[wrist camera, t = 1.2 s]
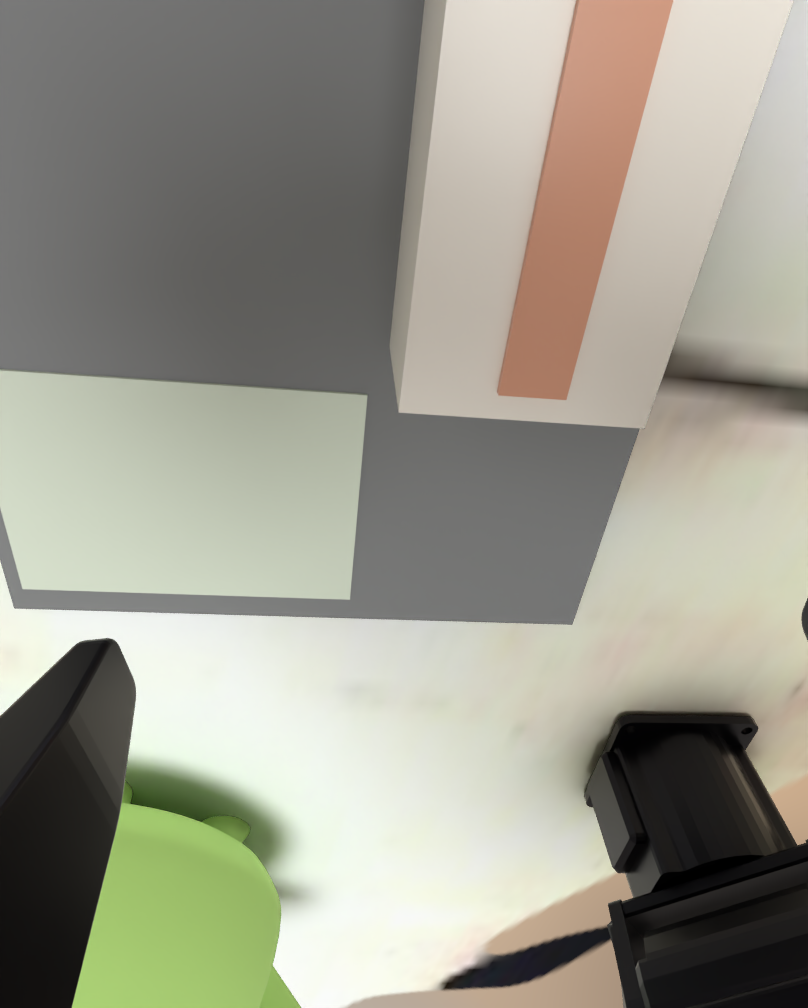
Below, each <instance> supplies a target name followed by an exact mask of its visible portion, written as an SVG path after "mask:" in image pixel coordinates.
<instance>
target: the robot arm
mask: <svg viewBox="0 0 808 1008" xmlns="http://www.w3.org/2000/svg"><path fill="white" fill-rule="evenodd" d="M802 627H803V630H804V633H805V635H806V638H807V640H808V598H807V601H806V603H805V606H804V609H803V612H802ZM135 701H136V687H135V682H134V679H133V676H132V674H131V672H130V670H129V667H128V665H127V663H126V661H125V658H124V656H123V654H122V652H121V649H120V647H119V645H118V644H117V642H116V641H115V640H113V639H109V638H105V639H95V640H85V641H81V642H79V643H77V644H76V645H75V646H73V647H72V648H71V649H70V650H69V651H68V652H67V653H66V654H65V655H64V656H63V657H62V658H61V659H60V660H59V661H58V662H57V663H56V664H54V665H53V666H52V667H51V668H50V669H49V670H48V671H47V672H46V673H45V674H44V675H43V676H42V677H41V678H40V679H39V680H38V681H37V682H36V683H34V684H33V685H32V686H31V687H30V688H29V689H28V690H27V691H26V692H25V693H24V694H23V695H22V696H21V697H20V698H19V699H18V700H17V701H16V702H15V703H13V704H12V705H11V706H10V707H9V708H8V709H7V710H6V711H5V712H4V713H3V714H2V715H1V716H0V1008H72V1005H73V1001H74V997H75V993H76V989H77V985H78V981H79V977H80V973H81V969H82V965H83V961H84V957H85V953H86V949H87V945H88V941H89V937H90V933H91V929H92V925H93V921H94V917H95V913H96V909H97V905H98V901H99V897H100V893H101V889H102V885H103V881H104V877H105V873H106V869H107V865H108V861H109V857H110V853H111V849H112V845H113V841H114V837H115V833H116V829H117V824H118V820H119V815H120V810H121V804H122V797H123V791H124V783H125V776H126V768H127V761H128V754H129V746H130V739H131V731H132V724H133V716H134V709H135ZM757 731H758V726H757V724H756V723H755V721H754V719H753V718H751V717H748V716H677V715H626V716H623V717H621V718H620V719H618V721H617V722H616V724H615V726H614V728H613V731H612V733H611V735H610V738H609V740H608V742H607V744H606V747H605V749H604V751H603V753H602V755H601V756H600V758H599V760H598V763H597V765H596V767H595V769H594V772H593V774H592V776H591V779H590V781H589V783H588V785H587V789H586V792H585V794H584V797H585V801H586V804H587V805H588V806H589V807H594V811H595V814H596V817H597V820H598V823H599V826H600V829H601V833H602V836H603V839H604V842H605V845H606V848H607V852H608V855H609V858H610V861H611V864H612V867H613V868H614V869H615V870H616V872H618V873H625V874H626V877H627V880H628V883H629V886H630V889H631V892H632V895H633V898H632V899H629V900H625V901H621V900H617V901H614V902H611V903H608V907H609V912H610V916H611V922H610V923H609V924H608V925H607V926H608V930H609V933H610V936H611V940H612V943H613V947H614V951H615V955H616V960H617V965H618V970H619V974H620V979H621V986H622V996H623V1006H624V1008H808V839H807V840H806V843H804V844H801V845H797V844H796V842H795V840H794V838H793V837H792V835H791V833H790V831H789V830H788V827H787V826H786V824H785V822H784V820H783V818H782V817H781V815H780V813H779V811H778V809H777V808H776V806H775V804H774V802H773V800H772V798H771V797H770V795H769V793H768V791H767V789H766V788H765V786H764V784H763V782H762V780H761V778H760V777H759V775H758V773H757V771H756V769H755V768H754V766H753V764H752V762H751V760H750V758H749V757H748V755H747V753H746V751H745V750H746V748H747V747H748V745H749V743H750V742H751V740H752V739H753V737H754V736H755V734H756V732H757Z"/></svg>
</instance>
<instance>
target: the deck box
mask: <svg viewBox="0 0 808 1008" xmlns="http://www.w3.org/2000/svg"><path fill="white" fill-rule="evenodd" d="M793 2H794V0H425V2H424V12H423V22H422V32H421V42H420V51H419V61H418V71H417V81H416V91H415V101H414V110H413V120H412V130H411V140H410V150H409V160H408V169H407V179H406V189H405V199H404V209H403V219H402V228H401V238H400V248H399V258H398V268H397V278H396V287H395V297H394V307H393V317H392V327H391V337H390V354H391V361H392V368H393V375H394V383H395V390H396V397H397V404H398V412H399V413H412V414H427V415H442V416H458V417H473V418H488V419H503V420H519V421H534V422H549V423H564V424H580V425H595V426H610V427H625V428H641V429H645V426H646V424H647V421H648V418H649V415H650V412H651V409H652V406H653V403H654V401H655V398H656V395H657V392H658V389H659V386H660V383H661V381H662V378H663V375H664V372H665V369H666V366H667V363H668V360H669V358H670V355H671V352H672V349H673V346H674V343H675V340H676V338H677V335H678V332H679V329H680V326H681V323H682V320H683V317H684V315H685V312H686V309H687V306H688V303H689V300H690V297H691V294H692V292H693V289H694V286H695V283H696V280H697V277H698V274H699V272H700V269H701V266H702V263H703V260H704V257H705V254H706V251H707V249H708V246H709V243H710V240H711V237H712V234H713V231H714V228H715V226H716V223H717V220H718V217H719V214H720V211H721V208H722V206H723V203H724V200H725V197H726V194H727V191H728V188H729V185H730V183H731V180H732V177H733V174H734V171H735V168H736V165H737V163H738V160H739V157H740V154H741V151H742V148H743V145H744V142H745V140H746V137H747V134H748V131H749V128H750V125H751V122H752V119H753V117H754V114H755V111H756V108H757V105H758V102H759V99H760V97H761V94H762V91H763V88H764V85H765V82H766V79H767V76H768V74H769V71H770V68H771V65H772V62H773V59H774V56H775V53H776V51H777V48H778V45H779V42H780V39H781V36H782V33H783V31H784V28H785V25H786V22H787V19H788V16H789V13H790V10H791V8H792V5H793Z"/></svg>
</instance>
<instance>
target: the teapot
mask: <svg viewBox="0 0 808 1008" xmlns="http://www.w3.org/2000/svg"><path fill="white" fill-rule="evenodd" d="M132 794H133V792H132V788H131V787H130V785H129V784H128V783H127V782H125V783H124V791H123V797H122V804H121V810H120V815H119V820H118V824H117V829H116V833H115V837H114V841H113V845H112V849H111V853H110V857H109V861H108V865H107V869H106V873H105V877H104V881H103V885H102V889H101V893H100V897H99V901H98V905H97V909H96V913H95V917H94V921H93V925H92V929H91V933H90V937H89V941H88V945H87V949H86V953H85V957H84V961H83V965H82V969H81V973H80V977H79V981H78V985H77V989H76V993H75V997H74V1001H73V1005H72V1008H301V1007H300V1005H299V1004H298V1002H297V1001H296V999H295V998H294V996H293V995H292V993H291V992H290V990H289V989H288V988H287V986H286V985H285V983H284V982H283V980H282V979H281V977H280V976H279V974H278V973H277V971H276V970H275V968H274V967H273V961H274V957H275V952H276V947H277V943H278V938H279V931H280V921H281V905H280V900H279V896H278V893H277V891H276V888H275V886H274V884H273V882H272V880H271V878H270V876H269V874H268V872H267V871H266V869H265V867H264V866H263V865H262V863H261V862H260V860H259V859H258V857H257V856H256V855H255V854H254V853H253V852H252V851H251V850H250V849H249V848H247V847H246V846H245V845H244V844H242V843H243V841H244V840H245V839H246V838H247V836H248V835H249V833H250V827H249V825H248V824H247V823H246V822H245V821H243V820H242V819H239V818H237V817H233V816H214V817H210V818H207V819H205V820H203V821H202V822H200V821H197V820H194V819H191V818H189V817H186V816H182V815H179V814H175V813H172V812H168V811H164V810H159V809H155V808H150V807H144V806H139V805H133V804H131V799H132Z"/></svg>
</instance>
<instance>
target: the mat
mask: <svg viewBox="0 0 808 1008" xmlns="http://www.w3.org/2000/svg"><path fill="white" fill-rule="evenodd" d="M424 2H425V0H0V561H1V564H2V568H3V571H4V575H5V578H6V581H7V585H8V588H9V592H10V595H11V599H12V602H13V606H14V608H18V609H53V610H87V611H121V612H156V613H190V614H224V615H259V616H293V617H327V618H362V619H396V620H430V621H465V622H499V623H533V624H568V625H572V624H573V621H574V618H575V615H576V612H577V609H578V606H579V603H580V601H581V598H582V595H583V592H584V589H585V586H586V583H587V580H588V577H589V574H590V571H591V569H592V566H593V563H594V560H595V557H596V554H597V551H598V548H599V545H600V542H601V539H602V536H603V534H604V531H605V528H606V525H607V522H608V519H609V516H610V513H611V510H612V507H613V504H614V502H615V499H616V496H617V493H618V490H619V487H620V484H621V481H622V478H623V475H624V472H625V470H626V467H627V464H628V461H629V458H630V455H631V452H632V449H633V446H634V443H635V440H636V438H637V435H638V432H639V429H640V428H625V427H610V426H595V425H580V424H564V423H549V422H534V421H519V420H503V419H488V418H473V417H458V416H442V415H427V414H412V413H399V412H398V404H397V397H396V390H395V383H394V375H393V368H392V361H391V354H390V337H391V327H392V317H393V307H394V297H395V287H396V278H397V268H398V258H399V248H400V238H401V228H402V219H403V209H404V199H405V189H406V179H407V169H408V160H409V150H410V140H411V130H412V120H413V110H414V101H415V91H416V81H417V71H418V61H419V51H420V42H421V32H422V22H423V12H424Z"/></svg>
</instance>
